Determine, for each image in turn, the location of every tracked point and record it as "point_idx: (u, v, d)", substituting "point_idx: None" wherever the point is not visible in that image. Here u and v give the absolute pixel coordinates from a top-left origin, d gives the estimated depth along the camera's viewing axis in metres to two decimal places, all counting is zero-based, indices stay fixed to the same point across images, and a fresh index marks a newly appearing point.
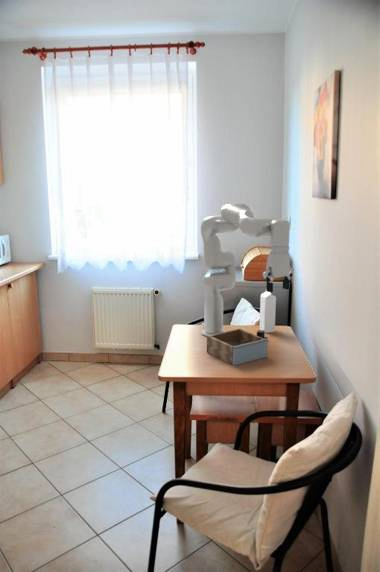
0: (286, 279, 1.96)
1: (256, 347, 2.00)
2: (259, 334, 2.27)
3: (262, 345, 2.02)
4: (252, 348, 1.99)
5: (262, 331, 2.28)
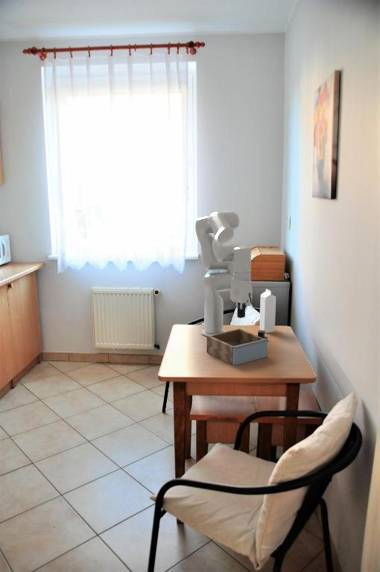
0: None
1: (256, 347, 2.00)
2: (260, 334, 2.27)
3: (262, 345, 2.02)
4: (252, 348, 1.99)
5: (263, 331, 2.28)
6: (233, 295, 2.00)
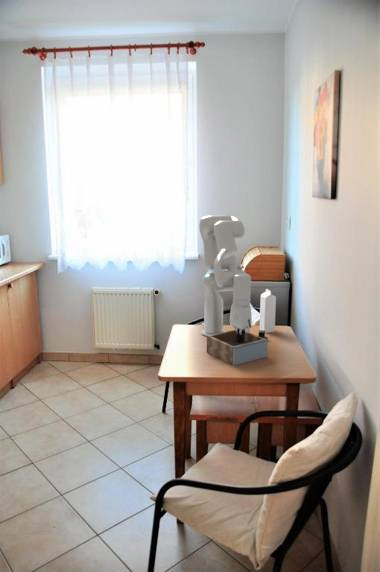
0: None
1: (256, 347, 2.00)
2: (261, 334, 2.26)
3: (262, 345, 2.02)
4: (252, 348, 1.99)
5: (263, 331, 2.28)
6: (233, 321, 2.02)
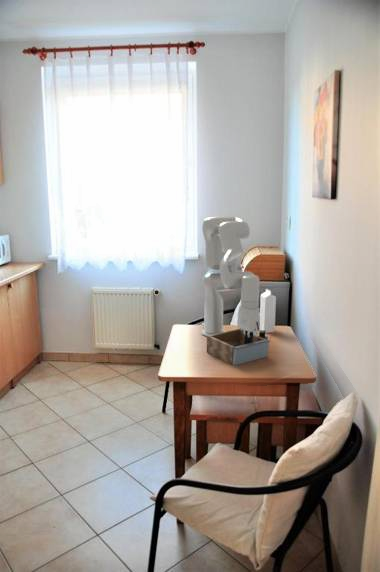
0: None
1: (257, 348, 1.99)
2: (262, 334, 2.26)
3: (263, 346, 2.01)
4: (253, 349, 1.98)
5: (264, 331, 2.28)
6: (240, 323, 1.98)
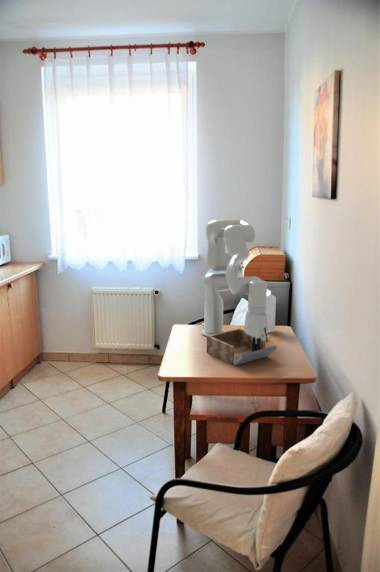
0: None
1: (262, 353, 1.97)
2: None
3: (268, 352, 1.99)
4: (258, 354, 1.96)
5: None
6: (248, 329, 1.94)
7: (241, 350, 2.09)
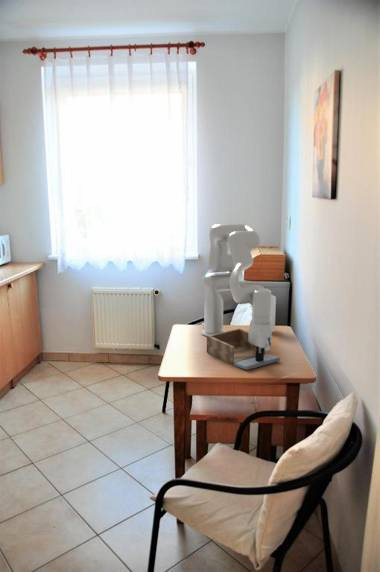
0: None
1: None
2: None
3: None
4: None
5: None
6: (251, 338, 1.93)
7: (241, 350, 2.09)
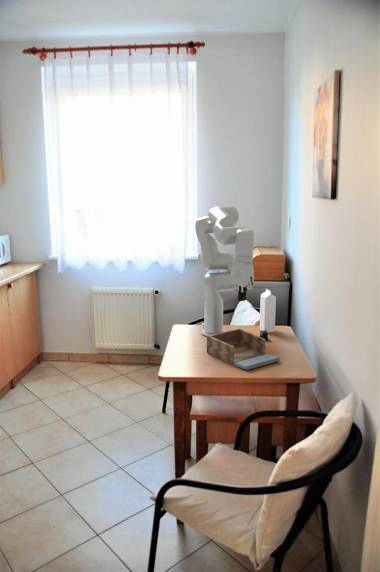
0: None
1: None
2: (264, 334, 2.26)
3: None
4: None
5: (265, 331, 2.28)
6: (234, 278, 1.98)
7: (241, 350, 2.09)
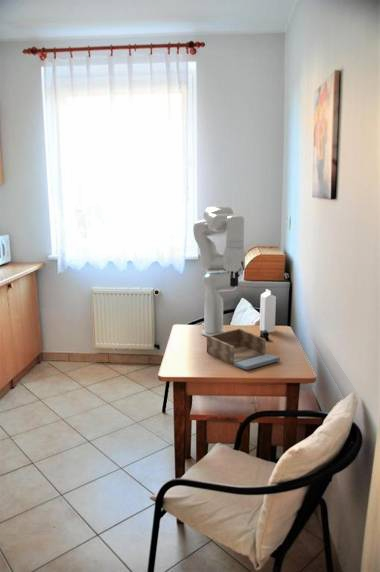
0: None
1: None
2: (265, 334, 2.26)
3: None
4: None
5: (265, 331, 2.28)
6: (226, 264, 2.01)
7: (241, 350, 2.09)
